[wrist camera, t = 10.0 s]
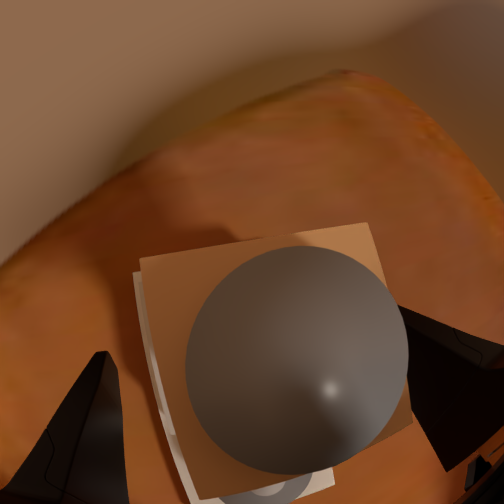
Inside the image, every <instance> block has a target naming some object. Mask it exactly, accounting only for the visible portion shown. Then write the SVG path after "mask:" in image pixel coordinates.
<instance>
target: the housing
mask: <svg viewBox="0 0 504 504" xmlns="http://www.w3.org/2000/svg"><path fill="white" fill-rule="evenodd" d="M133 281H134V289H135V296H136V303H137V310H138V316H139V322H140V328H141V334H142V339H143V344H144V349H145V354H146V359H147V364H148V369H149V373H150V377H151V382H152V386H153V390H154V394H155V398H156V402H157V405H158V409H159V413H160V416H161V420H162V423H163V427H164V430H165V433H166V437H167V440H168V443H169V446H170V449H171V452H172V455H173V458H174V461H175V464H176V467H177V469H178V472H179V475H180V478H181V480H182V483H183V486H184V488H185V491H186V493H187V496H188V498H189V500H190V503H191V504H289V503H290V502H292V501H293V500H295V499H297V498H300V497H303V496H306V495H309V494H312V493H315V492H317V491H320V490H322V489H325V488H327V487H330V486H332V485H335V482H334V476H333V471H332V467H330V468H328V469H325V470H322V471H318V472H313V473H308V474H305V475H303V476H300V477H297V478H294V479H291V480H288V481H284V482H281V483H278V484H274V485H271V486H267V487H264V488H260V489H256V490H252V491H248V492H243V493H239V494H234V495H229V496H224V497H218V498H212V499H206V500H199V498H198V495H197V493H196V490H195V488H194V485H193V483H192V480H191V477H190V475H189V472H188V469H187V466H186V464H185V461H184V458H183V455H182V452H181V449H180V446H179V443H178V440H177V436H176V433H175V430H174V427H173V423H172V420H171V416H170V413H169V409H168V406H167V402H166V398H165V395H164V391H163V387H162V383H161V379H160V374H159V370H158V366H157V361H156V357H155V352H154V347H153V342H152V337H151V332H150V327H149V321H148V316H147V310H146V304H145V297H144V291H143V284H142V276H141V271H139V272H133Z"/></svg>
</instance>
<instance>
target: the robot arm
mask: <svg viewBox="0 0 504 504" xmlns="http://www.w3.org/2000/svg"><path fill="white" fill-rule="evenodd" d="M397 306H398V308H399V311H400V313H401V316H402V318H403V322H404V325H405V329H406V334H407V341H408V369H407V375H406V376H407V382H408V389H409V396H410V404H411V410H412V411H413V413H414V415H415V417H416V418H417V420H418V422H419V424H420V425H421V427H422V429H423V431H424V432H425V434H426V436H427V438H428V440H429V442H430V443H431V445H432V447H433V449H434V451H435V452H436V454H437V456H438V458H439V460H440V462H441V464H442V466H443V468H444V469H445V471H446V472H448V471H450V470H451V469H453V468H454V467H455V466H457V465H458V464H459V463H461V462H462V461H463V460H465V459H466V458H467V457H468V456H470V455H471V454H472V453H473V452H475V451H476V450H477V451H478V452H479V455H478V456H477V457H476V458H475V459H474V460H473V461H472V462H471V463H470V464H469V465H468V471H467V477H466V483H465V488H464V489H465V491H466V493H465V494H464V495H463V496H461V497H460V498H459V499H458V500H457V501H456V502H455V503H453V504H504V345H501V344H497V343H494V342H491V341H488V340H485V339H482V338H479V337H476V336H473V335H470V334H468V333H465V332H463V331H460V330H458V329H455V328H452V327H450V326H448V325H446V324H443V323H441V322H438V321H436V320H434V319H431V318H429V317H426V316H424V315H421V314H419V313H417V312H414V311H412V310H409V309H407V308H404V307H402V306H399V305H397ZM0 504H129V497H128V489H127V480H126V470H125V458H124V441H123V415H122V405H121V397H120V388H119V378H118V370H117V367H116V365H115V363H114V361H113V359H112V357H111V355H110V354H109V352H108V351H99V352H96V353H95V354H94V355H93V357H92V358H91V360H90V361H89V363H88V364H87V365H86V367H85V368H84V370H83V371H82V373H81V374H80V376H79V377H78V379H77V380H76V382H75V383H74V385H73V386H72V388H71V389H70V391H69V392H68V394H67V395H66V397H65V398H64V400H63V401H62V403H61V404H60V406H59V408H58V409H57V411H56V412H55V414H54V416H53V417H52V419H51V420H50V422H49V424H48V425H47V429H45V430H44V432H43V433H42V435H41V437H40V438H39V440H38V441H37V443H36V445H35V446H34V448H33V449H32V451H31V452H30V454H29V455H28V457H27V458H26V459H25V461H24V462H23V464H22V465H21V466H20V468H19V469H18V471H17V472H16V473H15V475H14V476H13V478H12V479H11V481H10V482H9V483H8V484H7V485H6V486H5V487H4V488H3V489H1V490H0Z"/></svg>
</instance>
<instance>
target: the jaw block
mask: <svg viewBox="0 0 504 504" xmlns="http://www.w3.org/2000/svg"><path fill="white" fill-rule="evenodd" d="M139 260H140V269H141V276H142V284H143V291H144V297H145V304H146V310H147V316H148V321H149V327H150V332H151V337H152V342H153V347H154V352H155V357H156V361H157V366H158V370H159V374H160V379H161V383H162V387H163V391H164V395H165V398H166V402H167V406H168V409H169V413H170V416H171V420H172V423H173V427H174V430H175V433H176V436H177V440H178V443H179V446H180V449H181V452H182V455H183V458H184V461H185V464H186V466H187V469H188V472H189V475H190V477H191V480H192V483H193V485H194V488H195V490H196V493H197V495H198V498H199V500H206V499H212V498H218V497H224V496H229V495H234V494H239V493H243V492H248V491H252V490H256V489H260V488H264V487H267V486H271V485H274V484H278V483H281V482H284V481H288V480H291V479H294V478H297V477H300V476H303V475H305V474H308V473H313V472H318V471H322V470H325V469H328V468H330V467H333V466H336V465H338V464H340V463H342V462H344V461H346V460H348V459H349V458H351V457H352V456H354V455H355V454H357V453H358V452H360V451H363V450H365V449H367V448H369V447H371V446H373V445H374V444H376V443H378V442H380V441H382V440H384V439H386V438H388V437H389V436H391V435H393V434H395V433H396V432H398V431H400V430H402V429H403V428H405V427H407V426H408V425H410V424H411V423H413V421H412V412H411V404H410V396H409V389H408V382H407V376H406V375H407V369H408V341H407V334H406V329H405V325H404V322H403V318H402V316H401V313H400V311H399V308H398V306H397V304H396V302H395V300H394V299H393V297H392V295H391V293H390V292H389V291H388V288H387V285H386V281H385V277H384V274H383V271H382V267H381V264H380V260H379V257H378V254H377V251H376V247H375V244H374V241H373V238H372V235H371V232H370V229H369V226H368V223H367V222H365V223H358V224H352V225H345V226H338V227H332V228H325V229H318V230H312V231H305V232H299V233H292V234H286V235H279V236H273V237H266V238H260V239H254V240H247V241H241V242H235V243H229V244H223V245H216V246H210V247H204V248H198V249H192V250H186V251H180V252H174V253H168V254H162V255H156V256H150V257H145V258H139Z"/></svg>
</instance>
